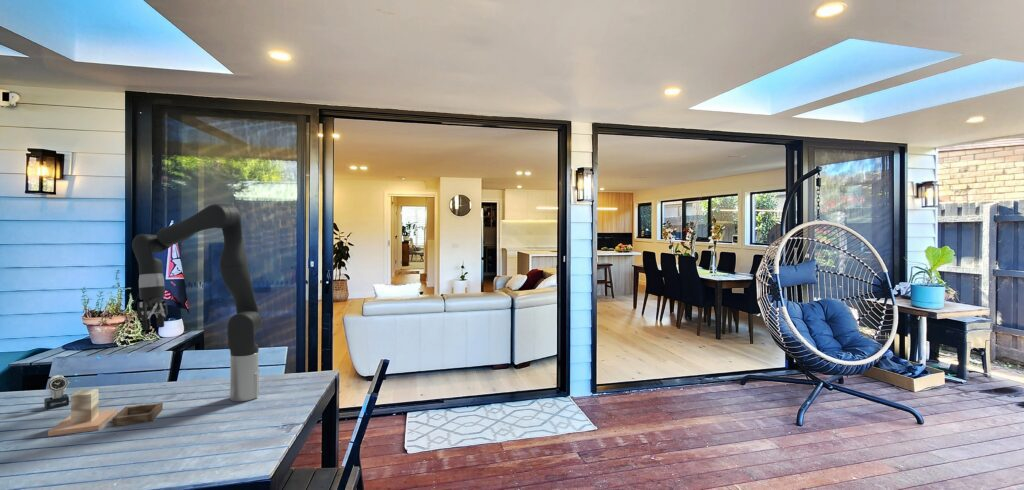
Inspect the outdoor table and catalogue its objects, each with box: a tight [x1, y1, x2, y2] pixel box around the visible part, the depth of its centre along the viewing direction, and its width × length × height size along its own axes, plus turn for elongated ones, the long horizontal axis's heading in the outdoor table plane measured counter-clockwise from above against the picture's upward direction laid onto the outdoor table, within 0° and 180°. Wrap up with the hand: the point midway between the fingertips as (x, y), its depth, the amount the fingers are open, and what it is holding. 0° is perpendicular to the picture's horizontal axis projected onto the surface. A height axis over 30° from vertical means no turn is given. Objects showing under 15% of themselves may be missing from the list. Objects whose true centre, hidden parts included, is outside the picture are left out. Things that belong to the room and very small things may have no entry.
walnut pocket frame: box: [111, 402, 163, 427], centre depth 148 cm, size 10×10×2 cm
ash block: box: [70, 388, 100, 424], centre depth 142 cm, size 5×5×9 cm
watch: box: [43, 374, 70, 411], centre depth 156 cm, size 6×8×11 cm
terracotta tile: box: [47, 408, 118, 437], centre depth 142 cm, size 12×14×2 cm
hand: (153, 328), depth 165 cm, fingers open, 8 cm apart
